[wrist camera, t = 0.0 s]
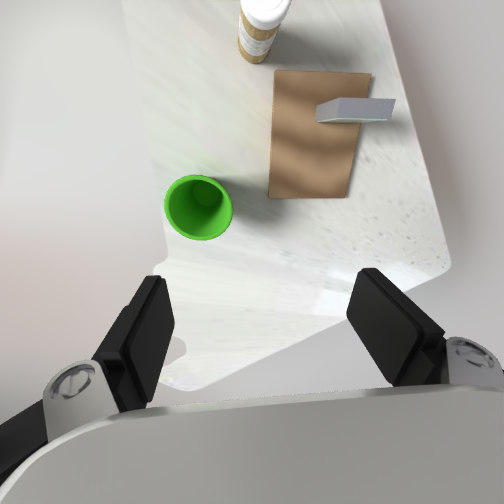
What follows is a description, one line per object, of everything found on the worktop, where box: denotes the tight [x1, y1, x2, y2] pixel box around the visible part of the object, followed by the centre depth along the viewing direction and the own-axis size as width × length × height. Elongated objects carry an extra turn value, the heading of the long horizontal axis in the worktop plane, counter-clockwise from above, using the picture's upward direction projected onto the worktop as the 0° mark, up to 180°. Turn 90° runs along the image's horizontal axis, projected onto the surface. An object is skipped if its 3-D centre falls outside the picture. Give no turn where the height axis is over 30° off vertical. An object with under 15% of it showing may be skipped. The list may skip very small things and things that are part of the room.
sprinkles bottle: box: [238, 0, 292, 63], centre depth 24 cm, size 5×5×14 cm
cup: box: [164, 175, 233, 240], centre depth 34 cm, size 9×9×11 cm
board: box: [268, 70, 371, 199], centre depth 36 cm, size 18×14×1 cm
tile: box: [315, 98, 396, 123], centre depth 30 cm, size 2×7×8 cm, turn 89°
